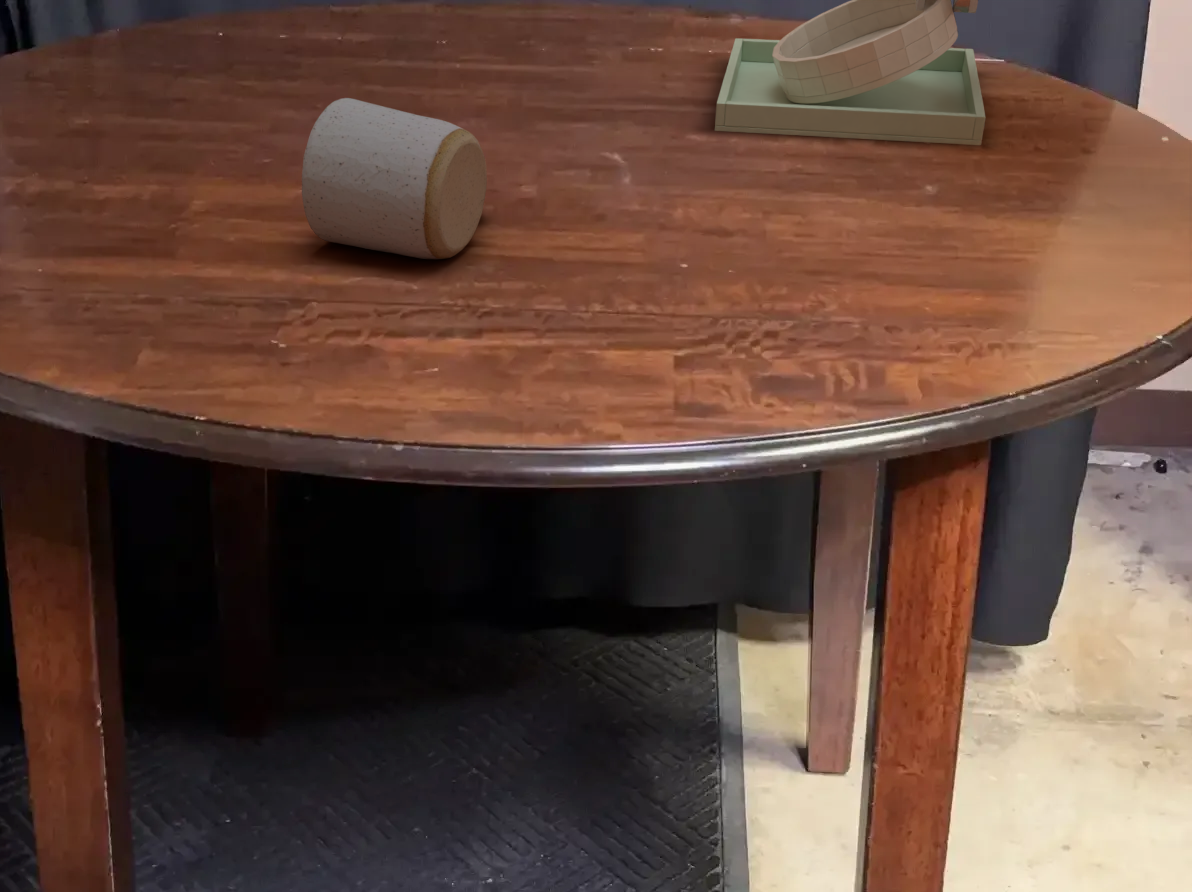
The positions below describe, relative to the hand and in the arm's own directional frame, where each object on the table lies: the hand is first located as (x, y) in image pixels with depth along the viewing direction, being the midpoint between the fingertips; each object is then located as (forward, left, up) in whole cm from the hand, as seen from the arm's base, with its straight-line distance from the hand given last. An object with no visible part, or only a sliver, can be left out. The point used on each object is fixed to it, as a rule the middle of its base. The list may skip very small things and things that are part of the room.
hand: (945, 10), depth 101 cm
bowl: (+4, 0, -4) cm, 6 cm away
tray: (+6, 0, -6) cm, 9 cm away
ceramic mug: (+30, +30, -7) cm, 43 cm away
